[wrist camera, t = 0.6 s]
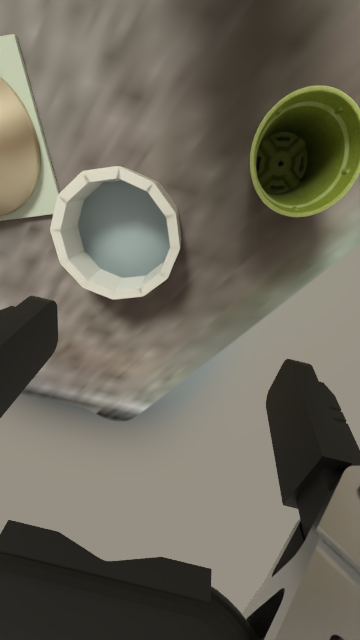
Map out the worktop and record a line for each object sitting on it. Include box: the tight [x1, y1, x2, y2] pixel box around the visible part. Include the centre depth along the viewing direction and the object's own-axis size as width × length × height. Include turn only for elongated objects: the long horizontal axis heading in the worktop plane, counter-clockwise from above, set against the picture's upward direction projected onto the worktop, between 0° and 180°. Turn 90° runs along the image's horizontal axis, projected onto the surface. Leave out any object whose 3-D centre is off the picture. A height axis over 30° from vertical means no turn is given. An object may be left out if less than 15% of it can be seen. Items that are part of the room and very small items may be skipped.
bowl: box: [50, 166, 182, 300], centre depth 32 cm, size 13×13×6 cm
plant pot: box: [250, 86, 360, 217], centre depth 27 cm, size 9×9×9 cm
